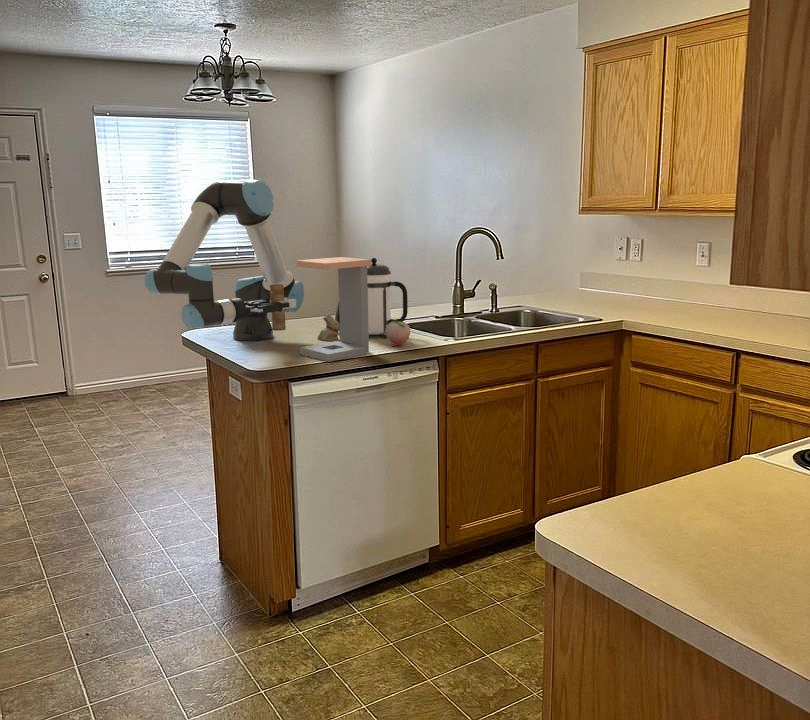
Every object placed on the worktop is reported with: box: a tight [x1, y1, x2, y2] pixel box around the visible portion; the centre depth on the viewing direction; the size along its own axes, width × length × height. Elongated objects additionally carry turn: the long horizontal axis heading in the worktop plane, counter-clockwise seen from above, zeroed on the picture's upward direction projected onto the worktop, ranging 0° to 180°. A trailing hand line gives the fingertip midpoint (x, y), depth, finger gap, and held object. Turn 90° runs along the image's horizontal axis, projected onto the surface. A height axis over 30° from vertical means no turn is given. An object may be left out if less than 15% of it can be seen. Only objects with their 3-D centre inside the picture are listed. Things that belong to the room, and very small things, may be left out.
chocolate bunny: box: [317, 313, 340, 341], centre depth 280 cm, size 6×8×10 cm
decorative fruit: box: [385, 318, 411, 347], centre depth 267 cm, size 9×8×10 cm
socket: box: [295, 256, 372, 362], centre depth 252 cm, size 16×19×32 cm
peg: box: [270, 284, 287, 332], centre depth 249 cm, size 4×4×15 cm
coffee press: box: [367, 257, 409, 339], centre depth 284 cm, size 17×16×30 cm
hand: (290, 302), depth 252 cm, fingers closed on peg, 4 cm apart
